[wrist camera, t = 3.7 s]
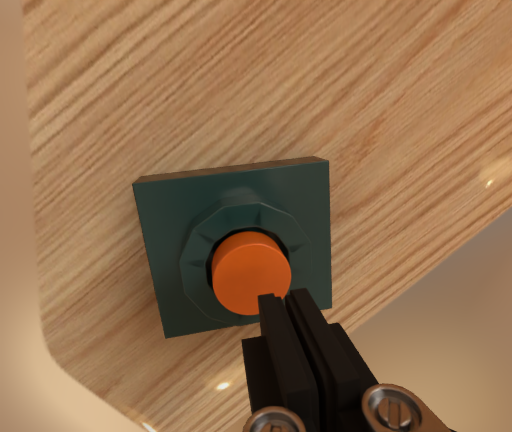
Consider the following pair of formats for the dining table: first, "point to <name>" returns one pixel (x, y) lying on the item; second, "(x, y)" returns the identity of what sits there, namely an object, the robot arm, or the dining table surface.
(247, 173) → the button housing
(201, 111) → the dining table surface
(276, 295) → the orange push button
